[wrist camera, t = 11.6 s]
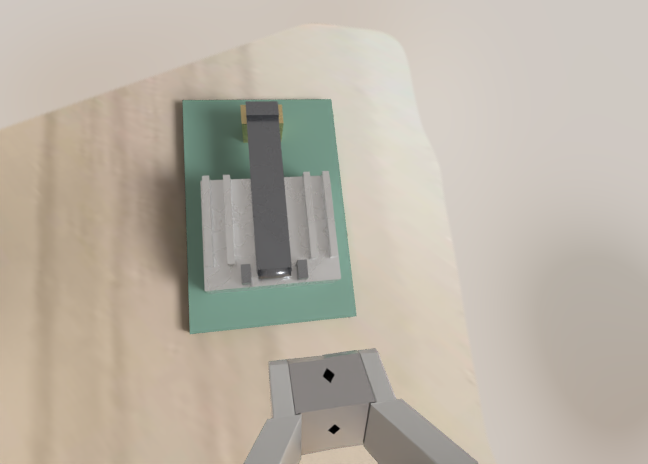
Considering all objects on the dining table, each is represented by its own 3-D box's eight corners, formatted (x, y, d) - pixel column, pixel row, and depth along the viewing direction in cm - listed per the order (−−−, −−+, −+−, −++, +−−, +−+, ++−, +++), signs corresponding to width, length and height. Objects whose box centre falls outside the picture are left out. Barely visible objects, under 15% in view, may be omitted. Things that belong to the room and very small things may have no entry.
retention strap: (291, 277, 34) (293, 275, 33) (257, 280, 34) (257, 278, 32) (277, 109, 38) (277, 101, 37) (245, 110, 38) (245, 101, 36)
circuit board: (353, 316, 40) (356, 316, 39) (192, 333, 37) (189, 334, 36) (329, 105, 45) (331, 99, 44) (184, 106, 42) (182, 100, 41)
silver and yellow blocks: (333, 282, 39) (345, 276, 34) (210, 294, 37) (201, 289, 32) (316, 123, 43) (324, 95, 37) (203, 126, 41) (194, 95, 35)
